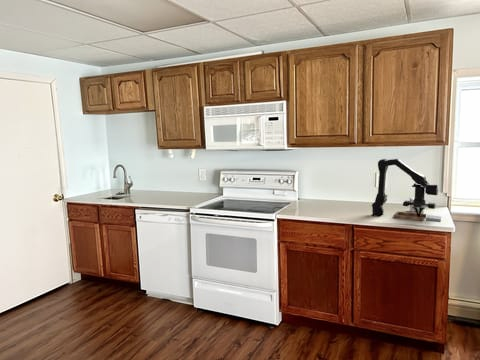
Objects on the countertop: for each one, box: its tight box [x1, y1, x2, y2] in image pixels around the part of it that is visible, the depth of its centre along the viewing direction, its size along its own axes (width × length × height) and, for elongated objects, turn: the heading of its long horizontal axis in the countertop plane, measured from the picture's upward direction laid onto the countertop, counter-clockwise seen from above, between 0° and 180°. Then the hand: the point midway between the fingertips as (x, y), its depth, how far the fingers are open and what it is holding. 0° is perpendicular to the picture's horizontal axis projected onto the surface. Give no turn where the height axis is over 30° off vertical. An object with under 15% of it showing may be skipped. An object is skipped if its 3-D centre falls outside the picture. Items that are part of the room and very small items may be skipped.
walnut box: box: [392, 211, 427, 222], centre depth 241 cm, size 18×12×3 cm, turn 55°
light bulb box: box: [409, 196, 425, 214], centre depth 255 cm, size 11×7×11 cm, turn 170°
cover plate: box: [425, 214, 442, 223], centre depth 234 cm, size 8×8×3 cm
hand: (418, 217), depth 238 cm, fingers closed
